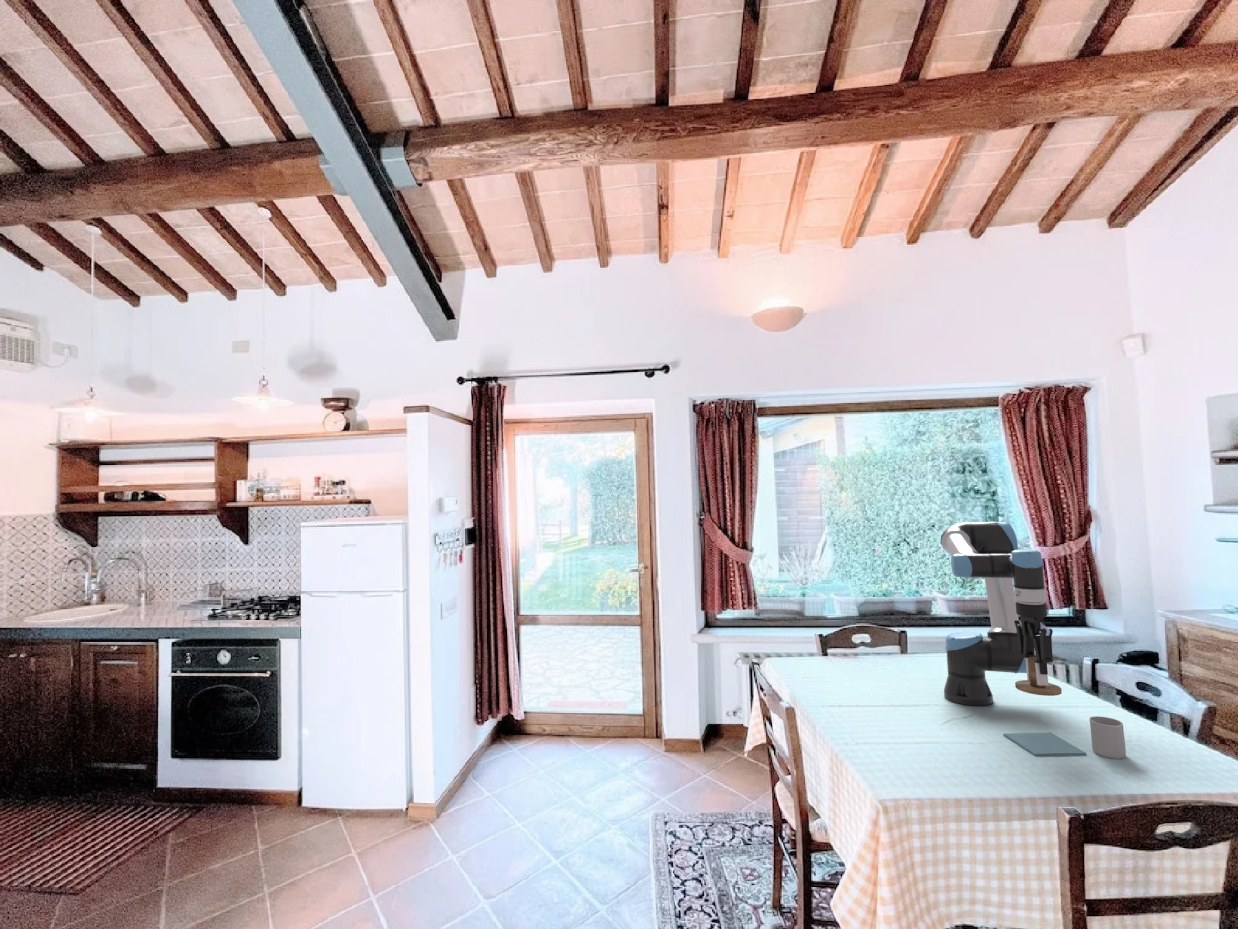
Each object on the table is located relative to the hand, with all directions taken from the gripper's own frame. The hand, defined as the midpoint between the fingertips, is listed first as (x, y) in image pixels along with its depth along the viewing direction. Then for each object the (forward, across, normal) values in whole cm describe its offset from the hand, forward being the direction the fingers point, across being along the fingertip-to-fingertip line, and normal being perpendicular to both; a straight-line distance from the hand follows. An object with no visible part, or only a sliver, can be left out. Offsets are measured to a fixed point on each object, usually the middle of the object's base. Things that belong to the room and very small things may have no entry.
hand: (1037, 682), depth 167 cm
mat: (+18, 0, 0) cm, 18 cm away
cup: (+18, +5, +14) cm, 23 cm away
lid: (+2, 0, 0) cm, 2 cm away
